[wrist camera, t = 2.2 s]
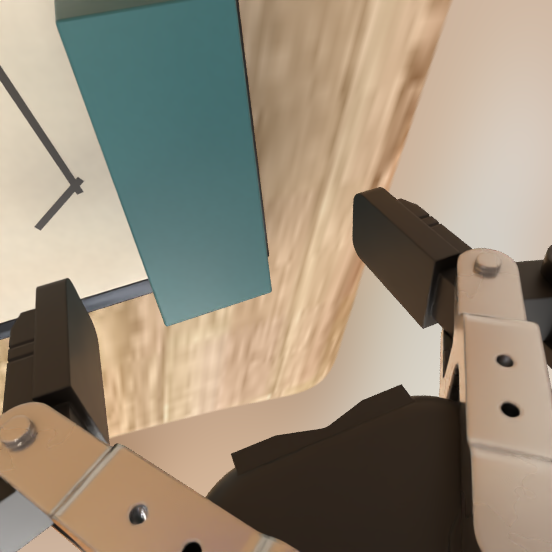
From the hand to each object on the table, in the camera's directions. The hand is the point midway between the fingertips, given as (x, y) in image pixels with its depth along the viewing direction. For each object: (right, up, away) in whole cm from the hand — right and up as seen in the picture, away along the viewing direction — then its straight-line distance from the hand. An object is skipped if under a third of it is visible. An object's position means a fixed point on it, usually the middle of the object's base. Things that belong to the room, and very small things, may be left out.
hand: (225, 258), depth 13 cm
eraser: (-3, +6, +6) cm, 9 cm away
